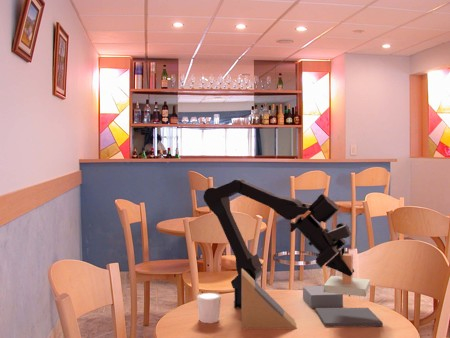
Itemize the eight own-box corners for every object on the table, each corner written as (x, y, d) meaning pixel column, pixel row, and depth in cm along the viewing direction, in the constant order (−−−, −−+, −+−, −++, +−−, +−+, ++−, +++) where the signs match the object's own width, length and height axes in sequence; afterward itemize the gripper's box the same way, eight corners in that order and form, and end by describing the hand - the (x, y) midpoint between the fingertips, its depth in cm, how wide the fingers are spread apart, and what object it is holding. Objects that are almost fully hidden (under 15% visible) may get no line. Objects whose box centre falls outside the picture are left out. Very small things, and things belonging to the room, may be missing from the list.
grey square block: (311, 308, 150) (311, 295, 150) (302, 298, 160) (302, 286, 160) (342, 307, 151) (342, 294, 151) (332, 297, 161) (332, 285, 161)
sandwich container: (298, 329, 132) (298, 275, 132) (241, 329, 133) (241, 274, 132) (294, 319, 141) (294, 267, 141) (241, 318, 141) (241, 267, 141)
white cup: (193, 322, 138) (193, 297, 138) (202, 314, 144) (202, 291, 144) (215, 325, 136) (215, 300, 135) (224, 317, 142) (224, 293, 142)
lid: (323, 292, 138) (324, 257, 137) (331, 282, 148) (331, 249, 148) (365, 296, 133) (365, 260, 133) (369, 286, 144) (370, 252, 144)
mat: (324, 326, 134) (324, 323, 134) (315, 311, 147) (315, 308, 147) (382, 326, 135) (382, 322, 134) (367, 310, 148) (367, 307, 147)
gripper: (328, 219, 133) (369, 262, 129) (339, 211, 150) (376, 249, 146) (299, 245, 136) (339, 288, 132) (313, 235, 154) (349, 273, 150)
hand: (352, 273), depth 140 cm, fingers closed on lid, 3 cm apart
